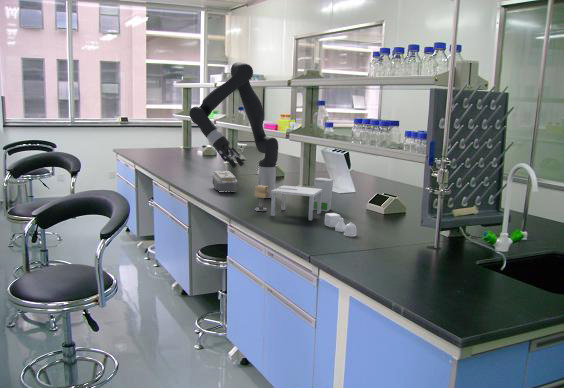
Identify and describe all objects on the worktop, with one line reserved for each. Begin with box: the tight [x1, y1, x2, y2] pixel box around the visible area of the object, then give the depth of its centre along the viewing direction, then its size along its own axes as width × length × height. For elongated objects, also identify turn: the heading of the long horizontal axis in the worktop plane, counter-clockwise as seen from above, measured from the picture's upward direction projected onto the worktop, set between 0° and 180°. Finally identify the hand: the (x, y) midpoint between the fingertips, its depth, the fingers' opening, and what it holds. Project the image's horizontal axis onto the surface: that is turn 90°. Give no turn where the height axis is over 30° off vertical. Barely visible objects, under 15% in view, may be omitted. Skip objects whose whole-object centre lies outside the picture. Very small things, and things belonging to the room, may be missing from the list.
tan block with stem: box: [254, 185, 268, 212], centre depth 244 cm, size 6×6×12 cm
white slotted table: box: [270, 185, 322, 221], centre depth 238 cm, size 16×20×12 cm
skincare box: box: [313, 177, 334, 212], centre depth 251 cm, size 8×7×16 cm
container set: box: [324, 212, 358, 237], centre depth 213 cm, size 20×5×6 cm, turn 24°
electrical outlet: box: [211, 170, 238, 192], centre depth 296 cm, size 12×28×10 cm, turn 19°
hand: (239, 165), depth 245 cm, fingers open, 8 cm apart
